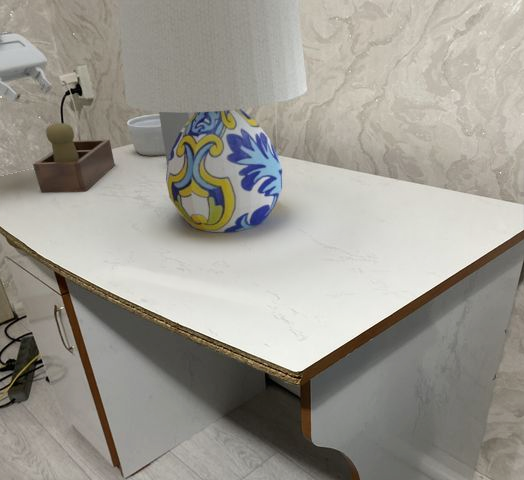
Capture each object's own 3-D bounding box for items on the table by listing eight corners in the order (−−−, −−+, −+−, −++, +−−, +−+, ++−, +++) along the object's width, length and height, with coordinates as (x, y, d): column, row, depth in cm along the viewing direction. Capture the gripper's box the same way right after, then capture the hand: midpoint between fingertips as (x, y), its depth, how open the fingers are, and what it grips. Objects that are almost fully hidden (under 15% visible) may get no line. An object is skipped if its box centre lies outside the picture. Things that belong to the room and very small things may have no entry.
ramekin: (189, 153, 127) (185, 122, 123) (133, 160, 124) (127, 128, 120) (183, 140, 137) (179, 111, 133) (131, 146, 135) (125, 117, 131)
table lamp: (332, 199, 95) (338, -89, 73) (260, 261, 76) (238, -105, 53) (205, 184, 107) (176, -70, 84) (114, 234, 87) (44, -78, 65)
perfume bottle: (195, 169, 116) (184, 77, 105) (167, 168, 118) (153, 77, 107) (208, 160, 121) (198, 71, 110) (181, 159, 123) (168, 71, 112)
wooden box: (41, 192, 108) (32, 164, 105) (75, 166, 123) (68, 140, 120) (86, 191, 107) (78, 162, 104) (115, 165, 122) (109, 139, 119)
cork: (77, 174, 115) (63, 119, 108) (92, 178, 111) (79, 122, 105) (51, 181, 111) (36, 125, 105) (66, 186, 108) (51, 129, 101)
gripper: (7, 44, 110) (59, 96, 112) (-73, 56, 94) (-10, 117, 97) (18, 18, 106) (72, 73, 109) (-63, 25, 90) (3, 90, 93)
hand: (33, 94), depth 103 cm, fingers open, 8 cm apart
